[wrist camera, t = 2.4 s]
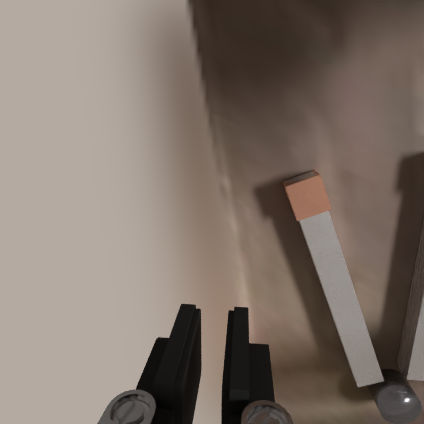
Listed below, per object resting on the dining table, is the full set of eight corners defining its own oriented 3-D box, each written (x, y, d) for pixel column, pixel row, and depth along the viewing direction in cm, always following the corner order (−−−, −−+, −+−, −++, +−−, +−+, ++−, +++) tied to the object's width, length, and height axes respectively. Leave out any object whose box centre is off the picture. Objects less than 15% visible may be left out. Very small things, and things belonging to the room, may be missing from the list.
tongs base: (417, 401, 32) (433, 427, 29) (366, 397, 32) (377, 422, 30) (471, 149, 25) (498, 152, 22) (406, 149, 26) (424, 152, 23)
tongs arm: (377, 365, 31) (388, 384, 29) (348, 371, 32) (357, 391, 29) (313, 170, 27) (320, 174, 24) (281, 181, 27) (285, 187, 25)
